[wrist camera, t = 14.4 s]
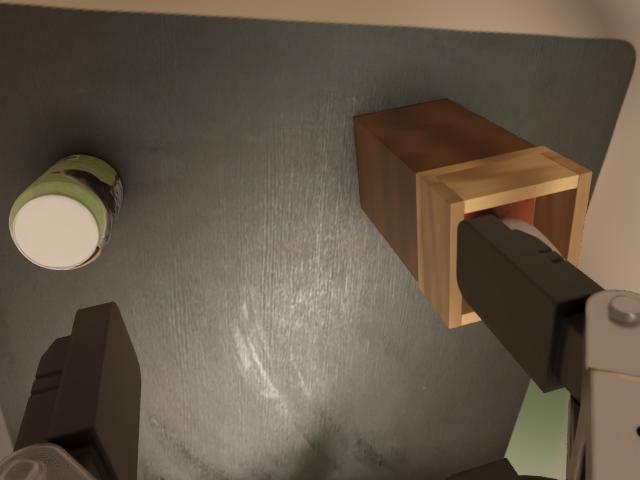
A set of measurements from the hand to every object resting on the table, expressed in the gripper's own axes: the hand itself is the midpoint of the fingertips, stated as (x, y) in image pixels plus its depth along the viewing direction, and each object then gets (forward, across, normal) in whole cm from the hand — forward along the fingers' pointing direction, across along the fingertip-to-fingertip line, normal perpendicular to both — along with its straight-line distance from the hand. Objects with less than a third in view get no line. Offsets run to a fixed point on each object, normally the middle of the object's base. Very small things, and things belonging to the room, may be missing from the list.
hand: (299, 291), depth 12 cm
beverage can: (+34, +12, +8) cm, 37 cm away
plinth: (+34, -16, +12) cm, 40 cm away
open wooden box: (+20, -16, +12) cm, 28 cm away
